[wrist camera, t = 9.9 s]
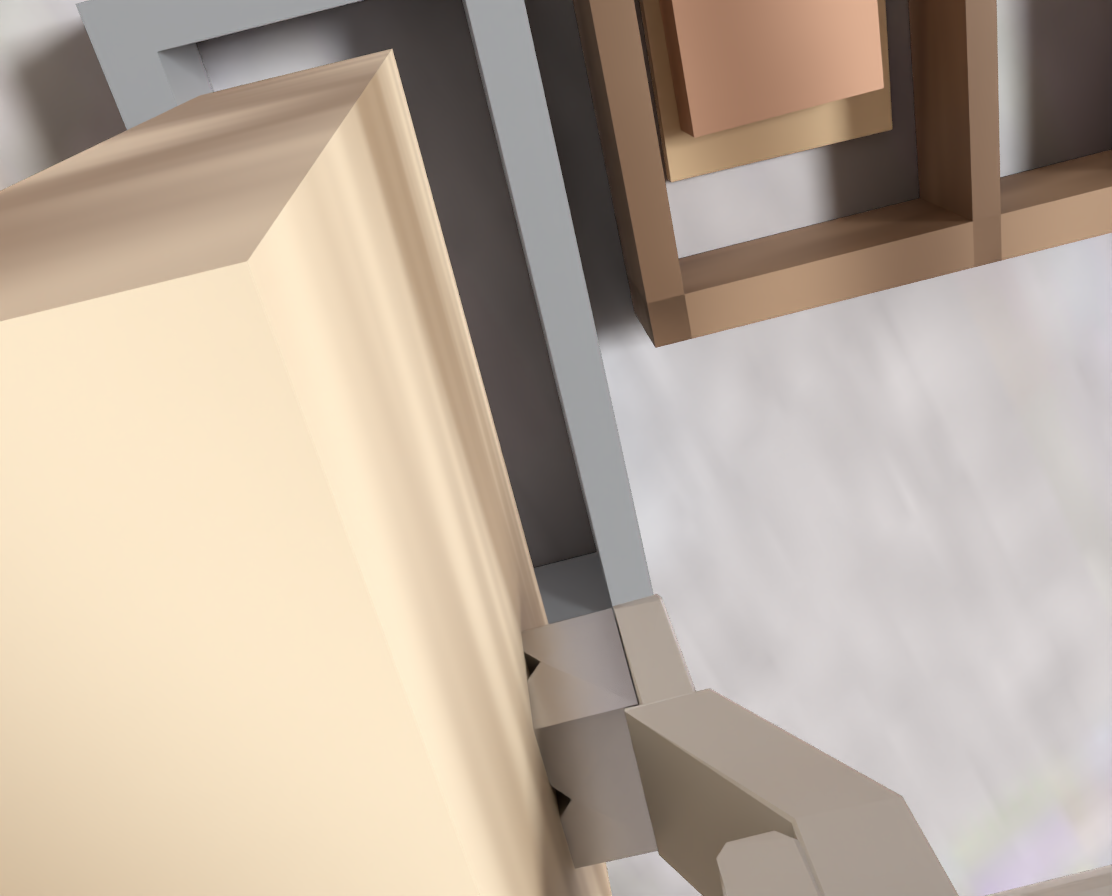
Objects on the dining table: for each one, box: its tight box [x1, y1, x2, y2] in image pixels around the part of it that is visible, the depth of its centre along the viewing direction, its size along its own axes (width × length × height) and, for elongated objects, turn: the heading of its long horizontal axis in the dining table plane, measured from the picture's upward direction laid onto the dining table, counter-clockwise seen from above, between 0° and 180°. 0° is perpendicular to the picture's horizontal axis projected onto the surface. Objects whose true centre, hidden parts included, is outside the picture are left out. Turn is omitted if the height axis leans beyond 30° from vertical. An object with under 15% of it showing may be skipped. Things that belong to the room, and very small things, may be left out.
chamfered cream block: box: [0, 49, 612, 896], centre depth 10 cm, size 2×12×10 cm, turn 12°
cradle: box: [76, 0, 654, 624], centre depth 21 cm, size 7×16×3 cm, turn 13°
